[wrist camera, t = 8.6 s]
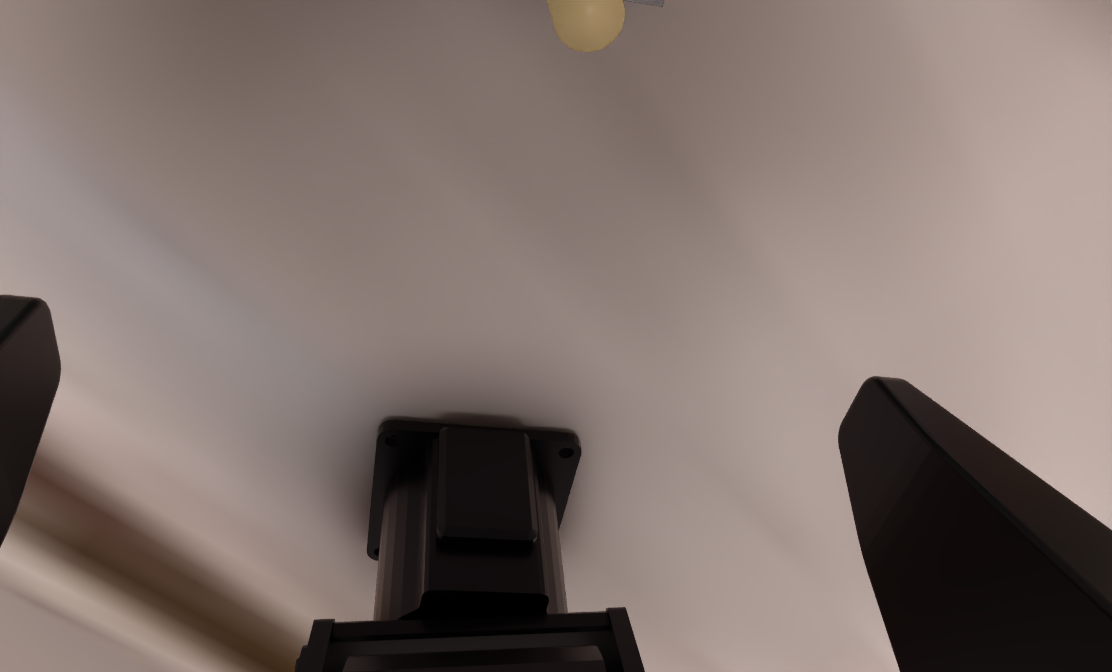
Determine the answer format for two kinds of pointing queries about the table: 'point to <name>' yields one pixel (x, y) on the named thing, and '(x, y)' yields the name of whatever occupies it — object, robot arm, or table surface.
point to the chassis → (590, 21)
